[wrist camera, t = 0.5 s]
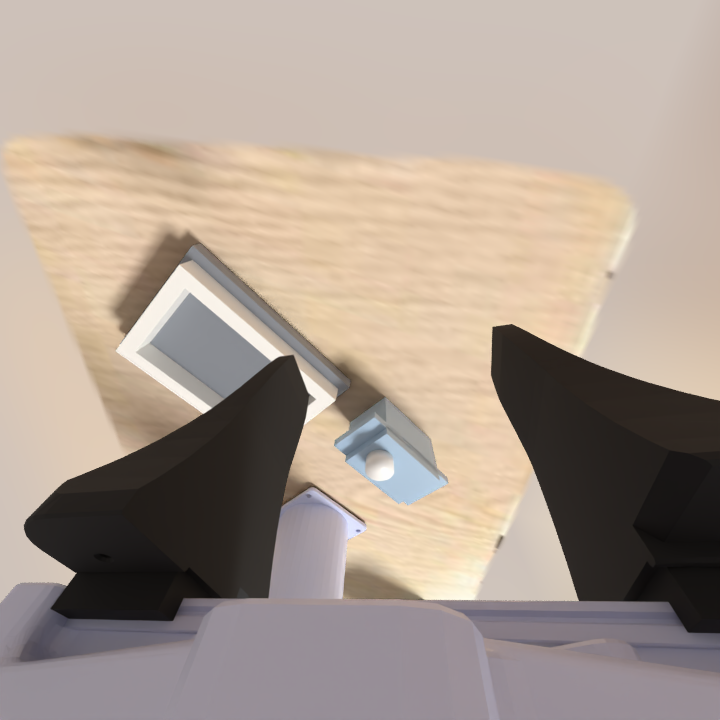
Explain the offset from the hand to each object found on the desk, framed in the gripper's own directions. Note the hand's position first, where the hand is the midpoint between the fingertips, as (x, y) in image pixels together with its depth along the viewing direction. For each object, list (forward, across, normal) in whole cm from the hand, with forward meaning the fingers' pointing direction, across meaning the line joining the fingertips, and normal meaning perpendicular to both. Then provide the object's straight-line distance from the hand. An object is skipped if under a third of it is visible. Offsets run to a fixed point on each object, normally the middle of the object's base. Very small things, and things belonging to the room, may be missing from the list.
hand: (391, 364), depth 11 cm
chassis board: (+10, +12, +4) cm, 16 cm away
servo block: (+10, +2, +13) cm, 16 cm away
